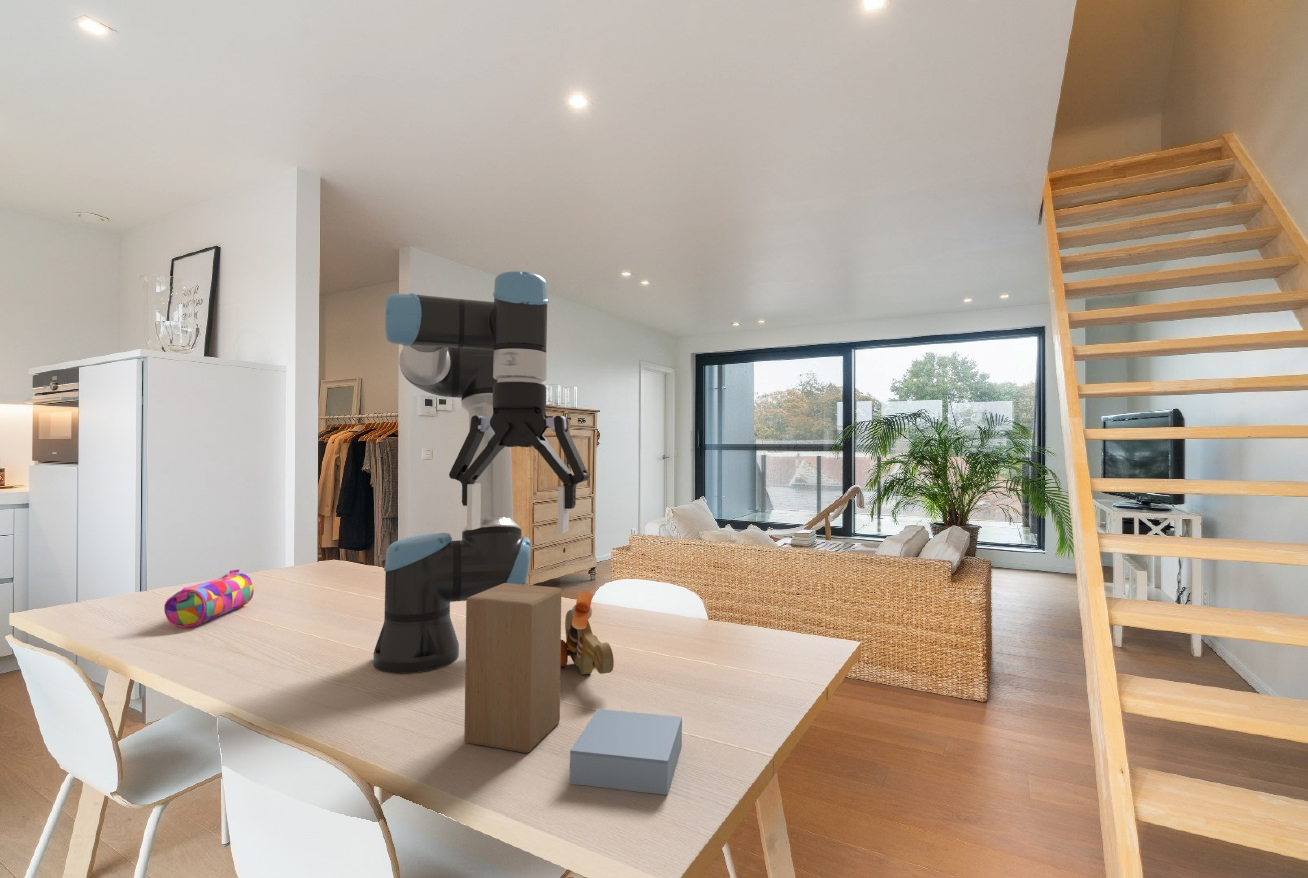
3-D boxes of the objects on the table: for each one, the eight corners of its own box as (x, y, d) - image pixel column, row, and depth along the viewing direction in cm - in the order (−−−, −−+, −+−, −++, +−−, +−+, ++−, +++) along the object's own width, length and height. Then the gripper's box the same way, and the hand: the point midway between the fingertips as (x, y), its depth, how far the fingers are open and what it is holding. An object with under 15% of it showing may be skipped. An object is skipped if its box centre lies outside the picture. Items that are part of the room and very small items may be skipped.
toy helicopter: (590, 655, 120) (590, 584, 120) (632, 694, 101) (633, 611, 101) (549, 661, 116) (550, 588, 116) (585, 703, 98) (586, 616, 98)
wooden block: (501, 713, 93) (503, 582, 94) (561, 722, 91) (562, 587, 91) (462, 743, 84) (464, 597, 84) (528, 755, 81) (530, 603, 81)
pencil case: (215, 605, 154) (216, 569, 154) (256, 604, 155) (257, 568, 155) (159, 631, 132) (160, 589, 132) (207, 630, 134) (208, 588, 134)
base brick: (569, 783, 74) (570, 750, 74) (597, 737, 86) (597, 708, 86) (667, 795, 72) (667, 760, 72) (681, 746, 84) (682, 716, 84)
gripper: (425, 380, 87) (423, 530, 86) (596, 378, 82) (594, 537, 82) (452, 385, 94) (450, 524, 94) (610, 384, 89) (608, 529, 89)
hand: (517, 530), depth 88 cm, fingers open, 13 cm apart
